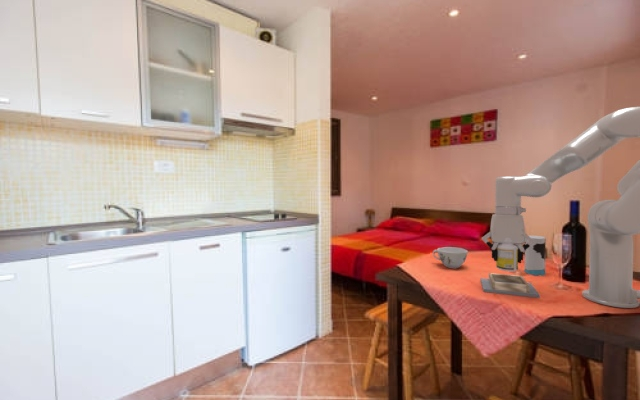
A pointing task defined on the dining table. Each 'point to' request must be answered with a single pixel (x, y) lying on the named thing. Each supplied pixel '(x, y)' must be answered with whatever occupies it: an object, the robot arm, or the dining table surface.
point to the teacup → (451, 256)
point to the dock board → (488, 288)
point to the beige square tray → (508, 286)
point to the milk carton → (535, 256)
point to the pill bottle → (507, 256)
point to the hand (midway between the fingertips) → (506, 260)
